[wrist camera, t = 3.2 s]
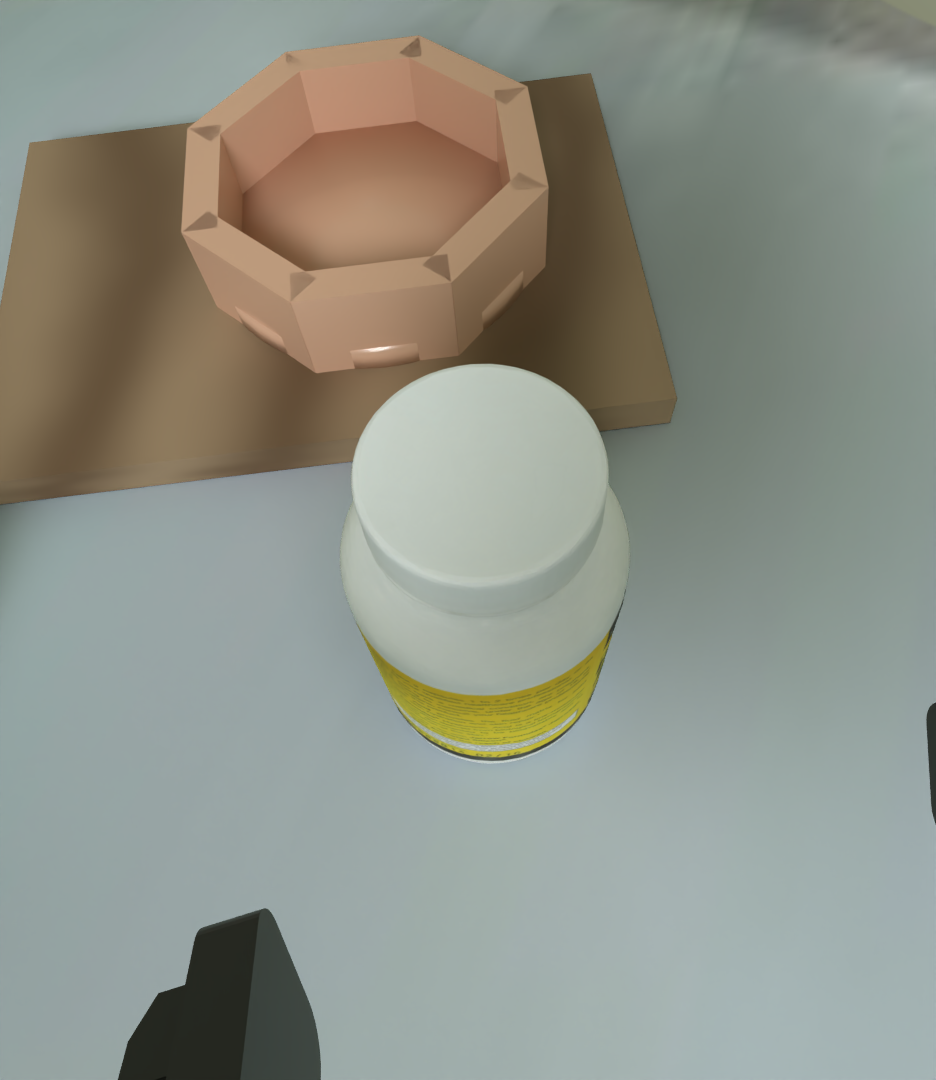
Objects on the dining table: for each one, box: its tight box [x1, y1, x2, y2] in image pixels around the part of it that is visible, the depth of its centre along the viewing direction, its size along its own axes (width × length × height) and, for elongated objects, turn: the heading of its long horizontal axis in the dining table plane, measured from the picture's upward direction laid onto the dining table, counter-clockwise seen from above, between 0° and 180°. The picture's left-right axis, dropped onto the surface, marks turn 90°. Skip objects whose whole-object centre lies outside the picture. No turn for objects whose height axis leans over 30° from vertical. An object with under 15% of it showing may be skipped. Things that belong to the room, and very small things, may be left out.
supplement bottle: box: [340, 364, 630, 763], centre depth 17 cm, size 5×5×10 cm
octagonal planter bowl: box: [181, 36, 549, 373], centre depth 25 cm, size 10×10×3 cm
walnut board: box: [0, 73, 677, 504], centre depth 27 cm, size 20×14×1 cm
